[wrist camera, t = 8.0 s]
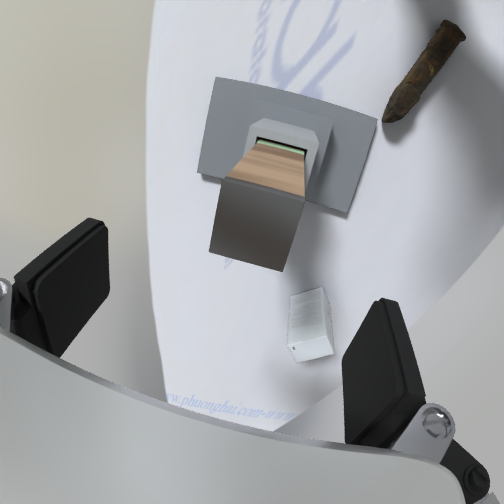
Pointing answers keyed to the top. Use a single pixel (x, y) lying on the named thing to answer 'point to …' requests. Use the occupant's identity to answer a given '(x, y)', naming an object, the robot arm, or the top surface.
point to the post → (260, 205)
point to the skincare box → (310, 326)
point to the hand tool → (423, 71)
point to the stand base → (288, 136)
